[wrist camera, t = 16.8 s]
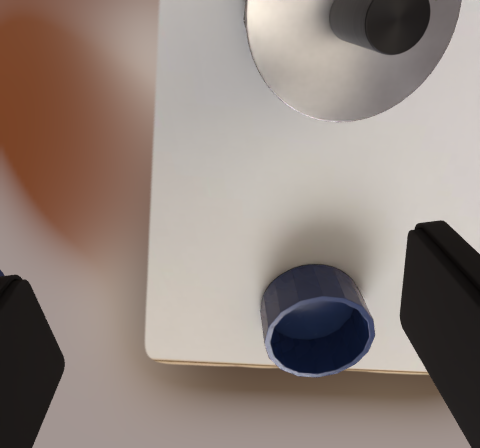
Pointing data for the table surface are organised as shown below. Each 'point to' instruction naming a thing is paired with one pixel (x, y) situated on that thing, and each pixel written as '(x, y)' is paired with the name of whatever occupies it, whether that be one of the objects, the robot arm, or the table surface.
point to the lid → (347, 51)
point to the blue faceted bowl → (315, 321)
